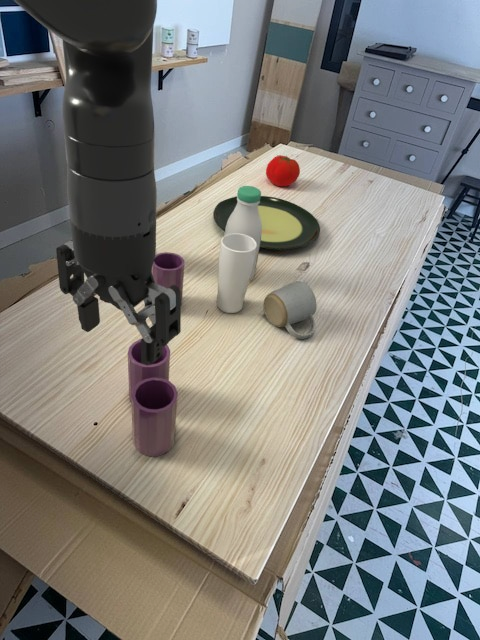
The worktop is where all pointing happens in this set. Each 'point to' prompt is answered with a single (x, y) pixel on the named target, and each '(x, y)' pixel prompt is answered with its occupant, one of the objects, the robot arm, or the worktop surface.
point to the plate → (276, 222)
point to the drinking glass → (234, 270)
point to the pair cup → (142, 371)
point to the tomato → (282, 171)
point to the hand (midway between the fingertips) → (120, 343)
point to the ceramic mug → (291, 307)
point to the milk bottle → (247, 217)
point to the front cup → (154, 416)
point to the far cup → (168, 270)
